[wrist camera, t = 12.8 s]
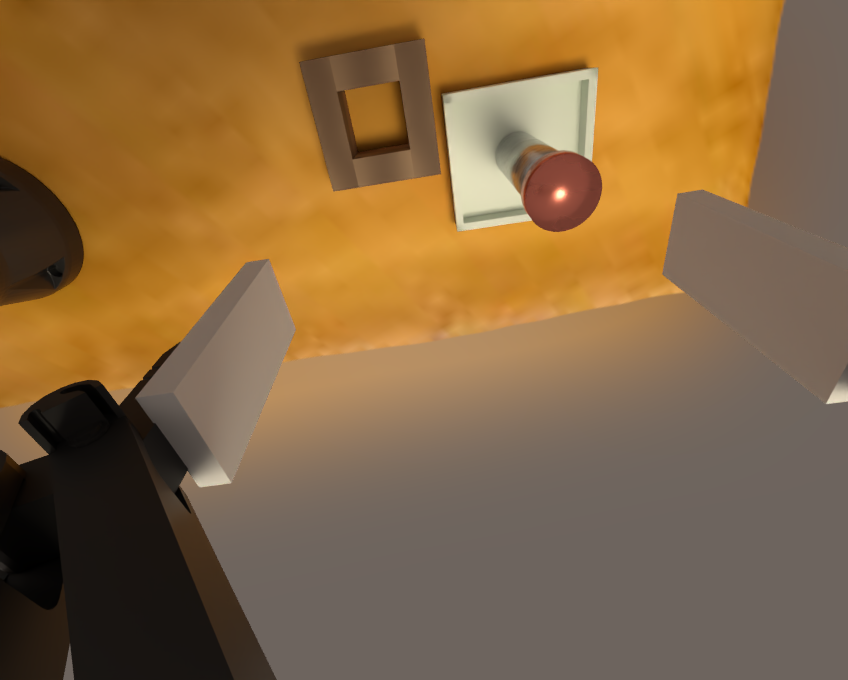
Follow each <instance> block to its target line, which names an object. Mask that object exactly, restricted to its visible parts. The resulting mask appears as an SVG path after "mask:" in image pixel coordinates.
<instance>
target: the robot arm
mask: <svg viewBox="0 0 848 680" xmlns="http://www.w3.org/2000/svg"><path fill="white" fill-rule="evenodd" d="M82 263H83V246H82V241H81V238H80V235H79V232H78V230H77V227H76V225H75V223H74V221H73V220H72V218H71V216H70V215H69V213H68V212H67V210H66V209H65V208H64V206H63V205H62V204H61V203H60V201H59V200H58V199H57V198H56V197H55V196H54V195H53V194H52V193H51V192H50V191H49V190H48V189H47V188H46V187H45V186H44V185H43V184H42V183H40V182H39V181H38V180H37V179H36V178H34V177H33V176H32V175H30V174H29V173H27V172H26V171H24V170H23V169H21V168H19V167H18V166H16V165H14V164H12V163H10V162H8V161H6V160H4V159H2V158H0V306H3V305H8V304H13V303H19V302H24V301H29V300H35V299H40V298H43V297H46V296H49V295H51V294H53V293H55V292H57V291H58V290H60V289H62V288H63V287H65V286H67V285H68V284H70V283H71V282H72V281H73V280H74V279H75V278H76V277H77V275H78V274H79V272H80V270H81V267H82ZM663 275H664V276H665V277H666V278H668V279H669V280H670V281H671V282H673V283H674V284H675V285H676V286H678V287H679V288H680V289H681V290H683V291H684V292H685V293H686V294H688V295H689V296H690V297H692V298H693V299H694V300H695V301H697V302H698V303H699V304H700V305H702V306H703V307H704V308H705V309H707V310H708V311H709V312H710V313H712V314H713V315H714V316H716V317H717V318H718V319H719V320H721V321H722V322H723V323H724V324H726V325H727V326H728V327H730V328H731V329H732V330H733V331H734V332H736V333H737V334H738V335H740V336H741V337H742V338H743V339H744V340H746V341H747V342H749V343H750V344H751V345H752V346H753V347H755V348H756V349H757V350H758V351H760V352H761V353H762V354H764V355H765V356H766V357H767V358H768V359H770V360H771V361H772V362H773V363H775V364H776V365H777V366H779V367H780V368H781V369H782V370H784V371H785V372H786V373H787V374H789V375H790V376H791V377H793V378H794V379H795V380H796V381H798V382H799V383H800V384H801V385H803V386H804V387H805V388H806V389H808V390H809V391H810V392H811V393H813V394H814V395H815V396H816V397H818V398H819V399H820V400H821V401H823V402H824V403H825V404H830V403H837V402H845V401H848V248H846V247H844V246H841V245H839V244H836V243H834V242H831V241H829V240H826V239H824V238H821V237H819V236H816V235H814V234H811V233H809V232H807V231H804V230H801V229H799V228H796V227H794V226H792V225H789V224H786V223H784V222H782V221H779V220H777V219H774V218H772V217H769V216H767V215H764V214H762V213H759V212H757V211H754V210H752V209H749V208H747V207H744V206H742V205H739V204H737V203H734V202H732V201H729V200H727V199H724V198H722V197H720V196H717V195H715V194H712V193H710V192H707V191H705V190H698V191H692V192H685V193H679V194H677V200H676V205H675V210H674V215H673V221H672V226H671V231H670V237H669V242H668V247H667V252H666V258H665V263H664V268H663ZM295 330H296V329H295V326H294V324H293V321H292V318H291V316H290V313H289V310H288V308H287V305H286V303H285V300H284V297H283V295H282V292H281V290H280V287H279V284H278V282H277V279H276V277H275V274H274V271H273V269H272V266H271V263H270V261H269V259H265V260H259V261H253V262H247V263H245V265H244V266H243V267H242V268H241V269H240V271H239V272H238V273H237V274H236V276H235V277H234V278H233V279H232V280H231V282H230V283H229V284H228V285H227V287H226V288H225V289H224V290H223V291H222V293H221V294H220V295H219V296H218V297H217V299H216V300H215V301H214V302H213V304H212V305H211V306H210V307H209V308H208V310H207V311H206V312H205V313H204V315H203V316H202V317H201V318H200V319H199V321H198V322H197V323H196V324H195V326H194V327H193V328H192V329H191V330H190V332H189V333H188V334H187V335H186V336H185V338H184V339H183V340H182V341H181V342H179V343H178V344H176V345H175V346H174V347H172V348H171V349H169V350H168V351H167V352H165V353H164V354H163V355H162V356H161V357H160V358H159V359H158V361H157V362H156V363H155V364H154V365H153V366H152V370H149V371H148V372H147V373H146V375H145V376H144V377H143V380H141V381H140V382H139V383H138V384H137V385H136V386H135V388H134V389H133V390H132V391H131V392H130V394H129V395H128V396H127V397H126V398H125V399H124V401H123V402H122V403H121V404H120V405H118V404H117V403H116V401H115V400H114V399H113V398H112V396H111V395H110V394H109V392H108V391H107V390H106V388H105V387H104V386H103V384H101V383H100V382H99V381H97V380H86V381H81V382H76V383H73V384H70V385H68V386H65V387H62V388H60V389H58V390H56V391H54V392H52V393H50V394H48V395H46V396H44V397H43V398H41V399H40V400H39V401H37V402H36V403H34V404H33V405H31V406H30V407H29V408H28V410H27V411H25V412H24V414H23V415H22V416H21V418H20V421H19V424H20V426H21V427H22V428H23V429H24V430H25V431H26V432H27V433H28V434H29V435H30V436H31V437H32V438H33V439H34V440H35V441H36V442H37V443H38V444H39V445H40V446H41V447H42V448H43V449H44V450H45V451H46V452H47V453H48V454H49V455H47V456H44V457H41V458H38V459H35V460H32V461H29V462H27V463H23V464H21V465H18V464H17V463H16V462H15V461H14V460H13V459H12V458H11V457H10V456H9V455H7V454H6V453H5V452H3V451H2V450H0V680H63V677H64V672H65V666H66V661H67V655H68V650H69V644H70V646H71V655H72V664H73V673H74V680H276V677H275V676H274V673H273V672H272V669H271V667H270V665H269V663H268V661H267V659H266V657H265V655H264V653H263V651H262V649H261V647H260V645H259V643H258V641H257V639H256V637H255V634H254V632H253V630H252V628H251V626H250V624H249V622H248V620H247V618H246V616H245V614H244V612H243V610H242V608H241V606H240V604H239V602H238V600H237V597H236V595H235V593H234V592H233V589H232V587H231V585H230V583H229V581H228V579H227V577H226V575H225V573H224V571H223V569H222V567H221V565H220V563H219V561H218V559H217V556H216V555H215V552H214V551H213V548H212V546H211V544H210V542H209V540H208V538H207V536H206V534H205V532H204V530H203V528H202V526H201V524H200V522H199V520H198V518H197V516H196V513H195V511H194V509H193V507H192V506H191V503H190V501H189V499H188V497H187V495H186V494H185V492H184V491H183V490H182V488H181V487H180V486H179V485H180V483H181V481H182V479H183V478H184V476H185V474H186V472H187V471H188V472H189V473H190V475H191V476H192V478H193V479H194V481H195V482H196V483H197V485H198V486H199V487H205V486H213V485H220V484H228V483H232V481H233V479H234V476H235V474H236V471H237V469H238V467H239V464H240V462H241V459H242V457H243V455H244V452H245V450H246V447H247V445H248V443H249V440H250V438H251V435H252V433H253V431H254V428H255V426H256V423H257V421H258V419H259V416H260V414H261V411H262V409H263V406H264V404H265V402H266V400H267V397H268V395H269V392H270V390H271V388H272V385H273V383H274V380H275V378H276V376H277V373H278V371H279V368H280V366H281V364H282V361H283V359H284V356H285V354H286V352H287V349H288V347H289V344H290V342H291V340H292V337H293V335H294V333H295Z"/></svg>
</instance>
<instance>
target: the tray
mask: <svg viewBox="0 0 848 680" xmlns="http://www.w3.org/2000/svg"><path fill="white" fill-rule="evenodd" d="M597 79H598V68H584V69H578V70H573V71H567V72H561V73H556V74H550V75H544V76H539V77H533V78H527V79H522V80H516V81H510V82H505V83H499V84H493V85H488V86H482V87H476V88H471V89H465V90H459V91H454V92H448V93H442V94H441V95H442V104H443V113H444V122H445V131H446V141H447V150H448V159H449V168H450V177H451V186H452V195H453V204H454V213H455V222H456V227H457V231H465V230H472V229H478V228H485V227H491V226H498V225H504V224H511V223H518V222H524V221H531V220H532V219H531V218H530V217H529V215H528V214H527V213H526V211H525V209H524V207H523V204H522V200H521V195H520V194H519V193H518V192H517V190H516V189H515V188H514V187H513V185H512V184H511V183H510V182H509V180H508V179H507V178H506V177H505V175H504V174H503V173H502V172H501V170H500V169H499V168H498V166H497V163H496V150H497V147H498V145H499V143H500V141H501V140H502V139H503V138H504V137H505V136H506V135H508V134H510V133H512V132H515V131H523V132H526V133H528V134H530V135H532V136H533V137H535V138H537V139H539V140H540V141H542V142H544V143H546V144H547V145H549V146H551V147H553V148H554V149H556V150H558V151H561V150H568V151H573V152H575V153H578V154H580V155H582V156H583V157H585V158H587V159H589V160H590V161H591V162H592V152H593V137H594V123H595V108H596V94H597Z"/></svg>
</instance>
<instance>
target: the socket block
mask: <svg viewBox="0 0 848 680" xmlns="http://www.w3.org/2000/svg"><path fill="white" fill-rule="evenodd" d="M299 63H300V67H301V71H302V74H303V78H304V82H305V86H306V90H307V93H308V97H309V101H310V105H311V108H312V112H313V116H314V120H315V124H316V127H317V131H318V135H319V139H320V143H321V146H322V150H323V154H324V158H325V162H326V165H327V169H328V173H329V177H330V180H331V184H332V188H333V191H340V190H346V189H352V188H358V187H364V186H370V185H377V184H383V183H389V182H395V181H401V180H407V179H413V178H420V177H426V176H432V175H438V174H441V171H440V163H439V154H438V146H437V138H436V130H435V122H434V113H433V105H432V97H431V89H430V80H429V72H428V64H427V56H426V48H425V39H419V40H414V41H409V42H403V43H398V44H393V45H387V46H382V47H377V48H371V49H366V50H361V51H355V52H350V53H345V54H339V55H334V56H329V57H323V58H318V59H313V60H307V61H302V62H299ZM394 81H400V87H401V93H402V100H403V106H404V113H405V119H406V126H407V132H408V138H409V144H403V145H397V146H391V147H385V148H379V149H373V150H368V151H362V152H358V150H357V145H356V141H355V136H354V132H353V127H352V123H351V118H350V114H349V109H348V105H347V100H346V96H345V91H344V90H349V89H355V88H360V87H366V86H372V85H377V84H383V83H388V82H394Z"/></svg>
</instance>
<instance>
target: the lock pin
mask: <svg viewBox="0 0 848 680" xmlns="http://www.w3.org/2000/svg"><path fill="white" fill-rule="evenodd" d="M496 163H497V166H498V168H499V169H500V170H501V172H502V173H503V174H504V175H505V177H506V178H507V179H508V180H509V182H510V183H511V184H512V185H513V187H514V188H515V189H516V190H517V192H518V193H519V194H520V195H521V200H522V204H523V207H524V209H525V211H526V213H527V214H528V215H529V217H530V218H531V219H532V220H533V222H534V223H535V224H536V225H538V226H539V227H541V228H543V229H545V230H548V231H553V232H560V231H566V230H570V229H572V228H574V227H577V226H578V225H580V224H581V223H583V222H584V221H585V220H586V219H587V218H588V217H589V216H590V215H591V214H592V213H593V211H594V210H595V208H596V206H597V204H598V202H599V200H600V196H601V191H602V180H601V176H600V173H599V171H598V169H597V167H596V166H595V165H594V164H593V162H591V161H590V160H589V159H587V158H585V157H583V156H582V155H580V154H578V153H575V152H573V151H568V150H561V151H558V150H556V149H554V148H553V147H551V146H549V145H547V144H546V143H544V142H542V141H540V140H539V139H537V138H535V137H533V136H532V135H530V134H528V133H526V132H523V131H515V132H512V133H510V134H508V135H506V136H505V137H504V138H503V139H502V140H501V141H500V143H499V145H498V147H497V150H496Z"/></svg>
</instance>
